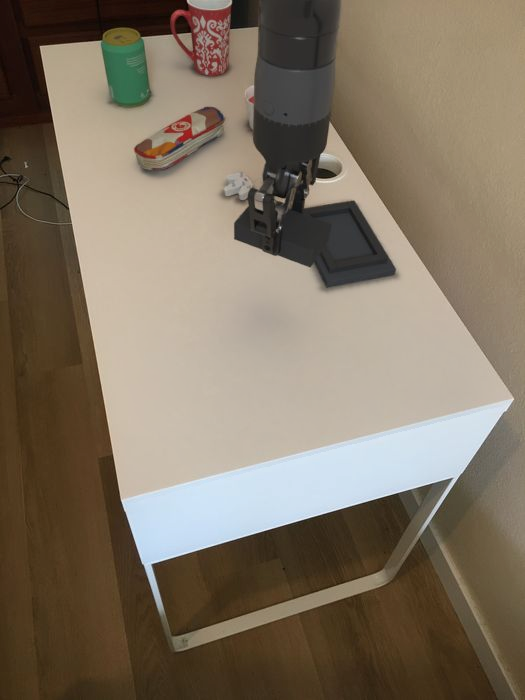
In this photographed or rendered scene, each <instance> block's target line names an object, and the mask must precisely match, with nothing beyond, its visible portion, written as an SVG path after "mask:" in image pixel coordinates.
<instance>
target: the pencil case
mask: <svg viewBox="0 0 525 700" xmlns="http://www.w3.org/2000/svg"><path fill="white" fill-rule="evenodd" d="M225 120H226V116H225V114H224V113H223V112H222V111H221V110H220V109H219V108H217V107H215V106H204V107H203V108H201V109H197V110H196V111H193V112H191V113H188V114H187V115H185V116H183V117H181V118H179V119H177V120H176V121H174V122H173V123H171V124H169V125H167V126H165V127H164V128H162V129H161V130H159V131H157V132H155V133H154V134H152V135H151V136H149V137H147V138H145V139H143V140H142V141H141V142H139V143H137V144H135V146H134V147H133V152H134V154H135V157H136V161H137V164H138V165H139V167H141V168H142V169H144V170H147V171H161V170H166V169H169V168H171V167H172V166H174V165H175V164H178V163H179V162H180V161H182V160H183V159H185V158H186V157H188V156H189V155H191V154H192V153H194V152H196V151H198V150H199V149H200V148H202V147H203V146H205V145H206V144H208V143H210V142H211V141H214V140H216V139H217V138H219V137H220V136H221V135H222V134H223V133H224V125H223V124H224V123H225Z"/></svg>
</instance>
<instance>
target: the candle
mask: <svg viewBox="0 0 525 700" xmlns="http://www.w3.org/2000/svg"><path fill="white" fill-rule="evenodd" d="M244 100H245V106H246V112H247V120H248V124H249V128H250V129H251V131H253V112H254V84H253V85H250V86H249V87H248V88H246V89H245V91H244Z"/></svg>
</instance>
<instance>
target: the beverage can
mask: <svg viewBox="0 0 525 700" xmlns="http://www.w3.org/2000/svg"><path fill="white" fill-rule="evenodd" d="M100 49H101V54H102V59H103V65H104V70H105V75H106V81H107V86H108V92H109V96H110V98H111V99H112V100H113V102H114V103H115V104H116V105H117V106H119V107H123V108H136V107H140V106H142V105H144V104H146V103H147V102H148V101H149V97H150V96H151V87H150V78H149V72H148V71H149V70H148V63H147V56H146V55H147V54H146V47H145V41H144V39H143V38H142V37H141V34H140V32H139V31H138V30H136V29H134V28H131V27H115V28H111V29H108V30H107V31H105V32H104V33H103V34H102V39H101V42H100Z"/></svg>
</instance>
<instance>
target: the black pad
mask: <svg viewBox="0 0 525 700" xmlns="http://www.w3.org/2000/svg"><path fill="white" fill-rule="evenodd" d="M275 216H276V220H277V216H278V212H277V211H275ZM331 225H332V224H331V223H328V222H325V221H322V220H319V219H316V218H314V217H311V216H308V215H305V214H302V213H299V212H296V211H293V210H290V211H289V212H287V213H286V215H285V219H284V223H283V228H282V240H281V251H280V253H279V254H278V255H277V256H278V257H281V258H282V259H283V258H284V259H286V260H289V261H290V262H291V261H292V262H294V263H297V264H299V265H302V266H305V267H307V268H312V266H313V265H314V264H315V263H314V262H315V260H316V259H317V257H318V256H319V254H320V253H321V251H322V250H323V248H324V247H325V245H326V244H327V242H328V241H329V237H330V231H331ZM261 237H262V234H259V233H257V232H254V231H251V225H250V215H249V206H248V205H247V207H246V208H245V209H244V211H243V212H242V213H241V214H240V215H239V216H238V218H237V219H236V220H235V221H234V222H233V239H234V240H235V241H238V242H240V243H243V244H244V245H248V246H251V247H253V248H257V249H259V250H262V249H261Z"/></svg>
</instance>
